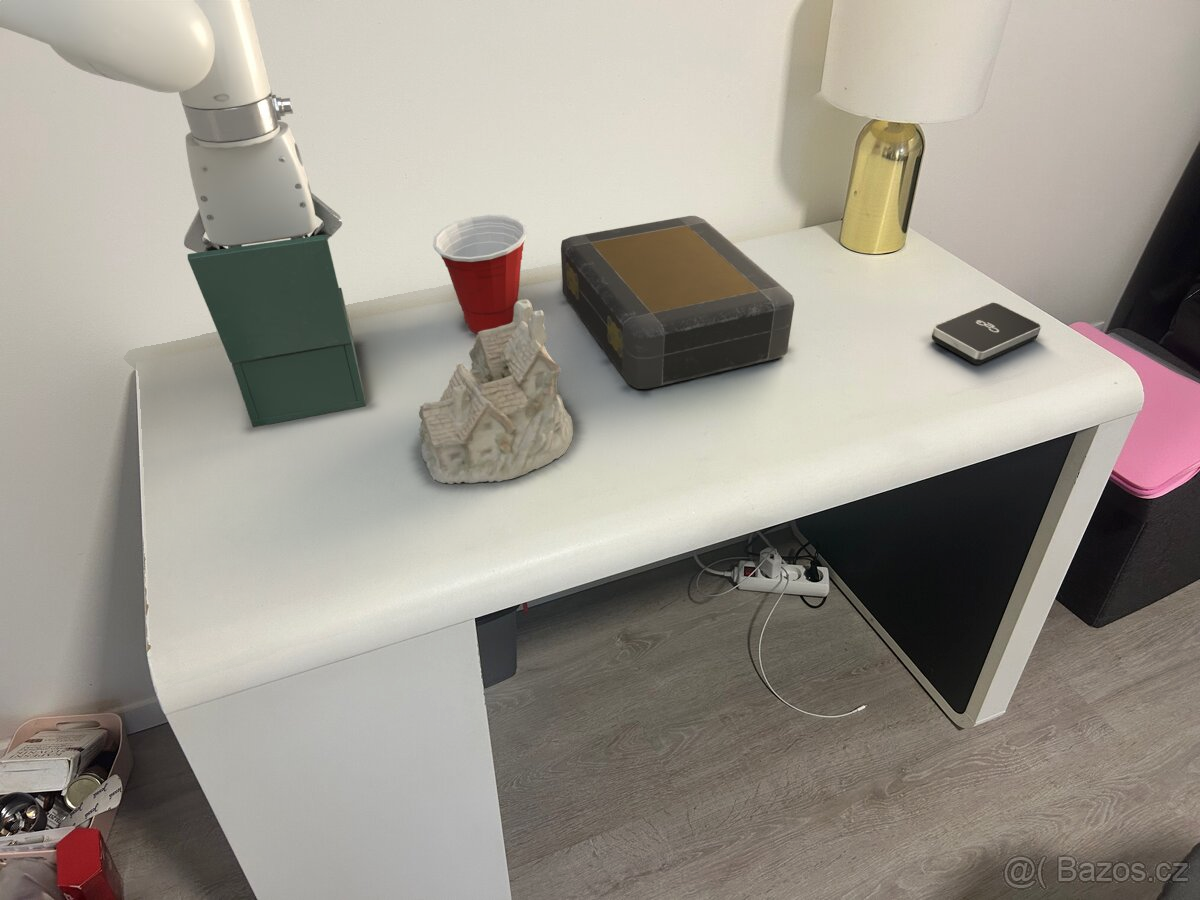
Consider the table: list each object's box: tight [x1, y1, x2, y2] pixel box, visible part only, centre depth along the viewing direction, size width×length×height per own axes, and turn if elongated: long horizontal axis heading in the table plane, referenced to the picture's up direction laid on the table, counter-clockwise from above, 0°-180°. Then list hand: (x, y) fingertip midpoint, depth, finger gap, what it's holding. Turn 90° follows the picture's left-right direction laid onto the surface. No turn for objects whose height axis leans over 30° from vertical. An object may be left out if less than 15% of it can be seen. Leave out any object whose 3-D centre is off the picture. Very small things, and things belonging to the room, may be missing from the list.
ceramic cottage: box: [418, 298, 574, 485], centre depth 82 cm, size 16×16×15 cm
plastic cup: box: [432, 214, 528, 335], centre depth 100 cm, size 11×11×12 cm
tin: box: [231, 287, 367, 428], centre depth 91 cm, size 13×12×8 cm
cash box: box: [560, 215, 795, 390], centre depth 101 cm, size 25×20×8 cm
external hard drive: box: [931, 301, 1042, 365], centre depth 99 cm, size 7×11×2 cm, turn 122°
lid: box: [187, 235, 351, 364], centre depth 79 cm, size 13×12×1 cm
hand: (282, 296), depth 87 cm, fingers closed on block, 5 cm apart
